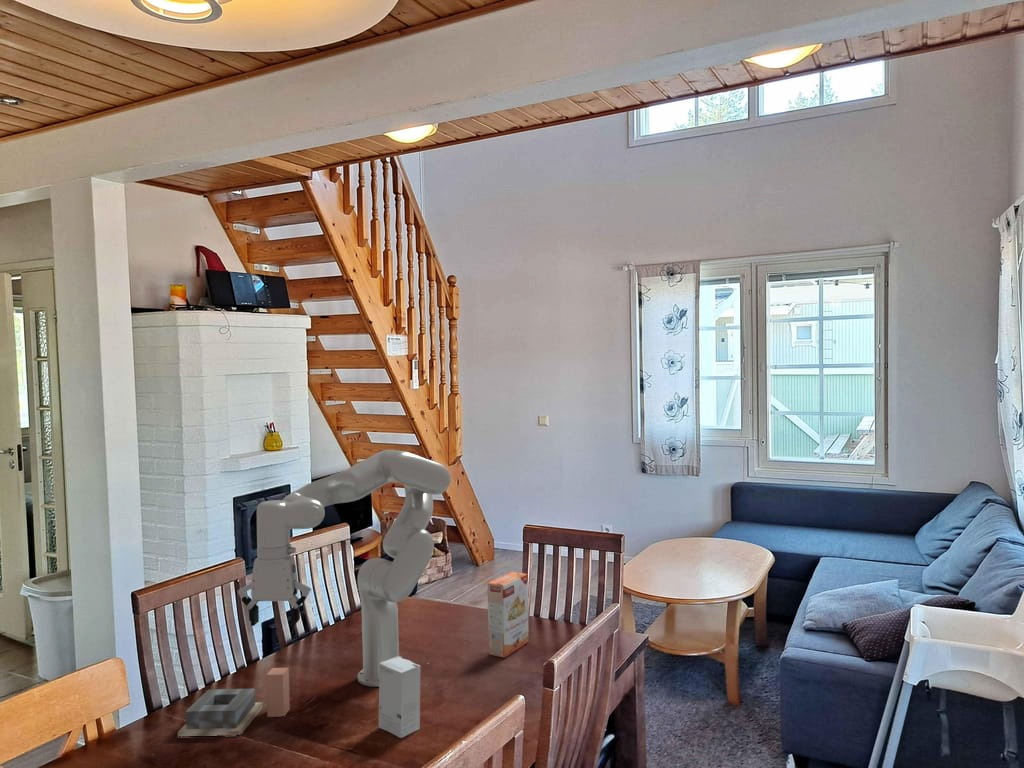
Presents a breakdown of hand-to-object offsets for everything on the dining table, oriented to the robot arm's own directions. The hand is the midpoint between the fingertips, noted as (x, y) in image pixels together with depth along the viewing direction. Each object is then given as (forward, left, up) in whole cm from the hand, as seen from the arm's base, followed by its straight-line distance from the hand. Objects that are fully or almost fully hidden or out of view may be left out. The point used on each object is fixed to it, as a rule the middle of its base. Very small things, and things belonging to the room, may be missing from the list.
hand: (274, 623), depth 167 cm
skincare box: (-31, +9, -22) cm, 39 cm away
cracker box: (-55, -37, -22) cm, 70 cm away
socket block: (+12, +4, -22) cm, 25 cm away
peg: (0, 0, -22) cm, 22 cm away
